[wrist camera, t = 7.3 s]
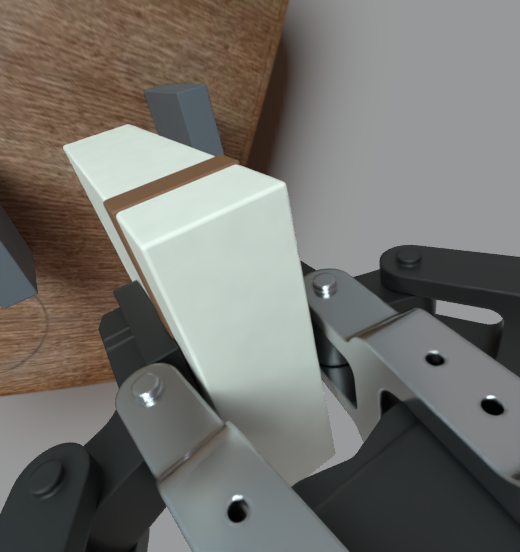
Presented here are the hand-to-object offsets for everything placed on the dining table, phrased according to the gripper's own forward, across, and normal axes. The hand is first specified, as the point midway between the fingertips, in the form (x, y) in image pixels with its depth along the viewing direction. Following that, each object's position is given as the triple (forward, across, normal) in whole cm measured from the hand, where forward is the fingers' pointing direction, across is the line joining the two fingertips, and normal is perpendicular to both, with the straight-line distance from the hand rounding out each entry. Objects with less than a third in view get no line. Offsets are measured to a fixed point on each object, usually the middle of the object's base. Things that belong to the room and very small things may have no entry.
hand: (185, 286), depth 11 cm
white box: (+5, 0, 0) cm, 5 cm away
